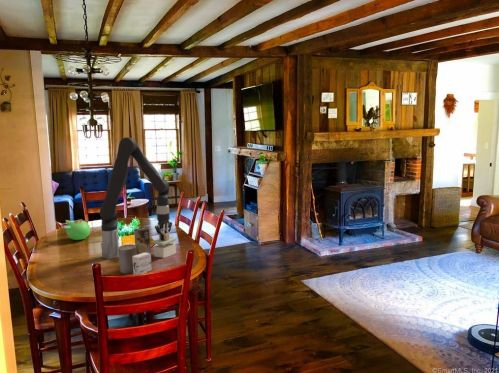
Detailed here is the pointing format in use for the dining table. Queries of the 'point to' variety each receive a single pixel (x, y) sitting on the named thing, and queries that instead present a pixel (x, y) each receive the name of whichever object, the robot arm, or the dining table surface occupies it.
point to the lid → (165, 241)
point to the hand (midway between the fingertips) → (164, 239)
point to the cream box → (164, 250)
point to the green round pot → (77, 229)
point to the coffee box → (142, 240)
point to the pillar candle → (126, 258)
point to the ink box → (142, 263)
